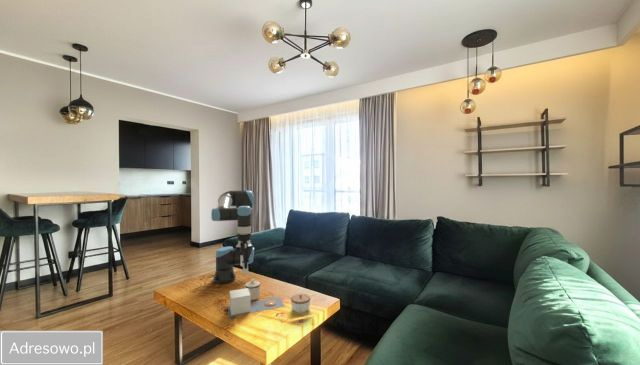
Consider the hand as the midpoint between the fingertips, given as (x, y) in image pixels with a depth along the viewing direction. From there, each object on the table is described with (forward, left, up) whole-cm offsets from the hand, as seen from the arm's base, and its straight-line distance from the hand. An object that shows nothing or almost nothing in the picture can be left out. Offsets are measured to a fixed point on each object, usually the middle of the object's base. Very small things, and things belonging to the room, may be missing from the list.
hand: (244, 269), depth 152 cm
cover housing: (+6, -3, -20) cm, 21 cm away
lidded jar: (+19, +28, -21) cm, 40 cm away
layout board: (+6, +6, -21) cm, 22 cm away
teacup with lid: (-8, +5, -21) cm, 23 cm away
